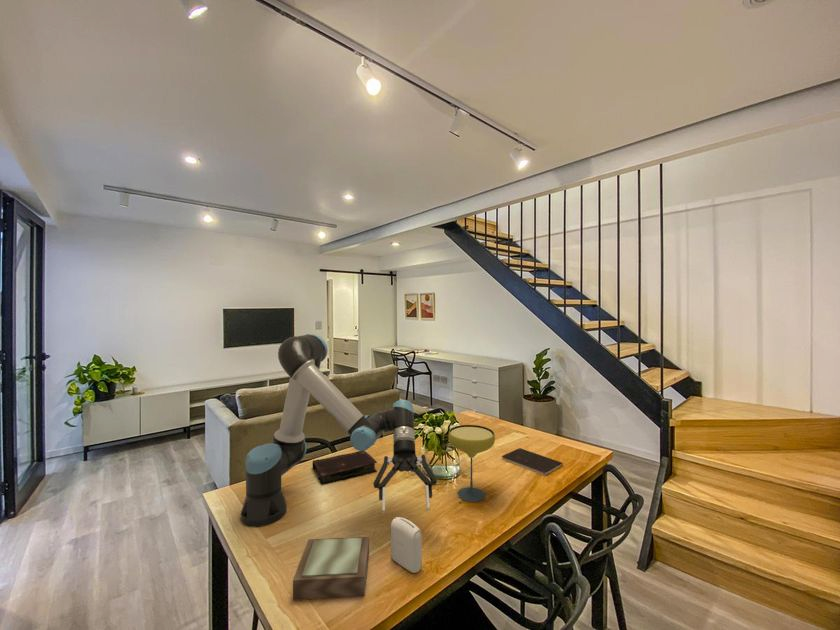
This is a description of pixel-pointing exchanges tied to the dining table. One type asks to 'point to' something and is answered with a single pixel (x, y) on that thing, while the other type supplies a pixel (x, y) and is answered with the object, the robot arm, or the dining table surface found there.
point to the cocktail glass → (471, 452)
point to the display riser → (332, 568)
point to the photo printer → (406, 544)
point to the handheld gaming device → (417, 466)
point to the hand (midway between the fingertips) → (406, 510)
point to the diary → (344, 467)
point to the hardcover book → (532, 461)
